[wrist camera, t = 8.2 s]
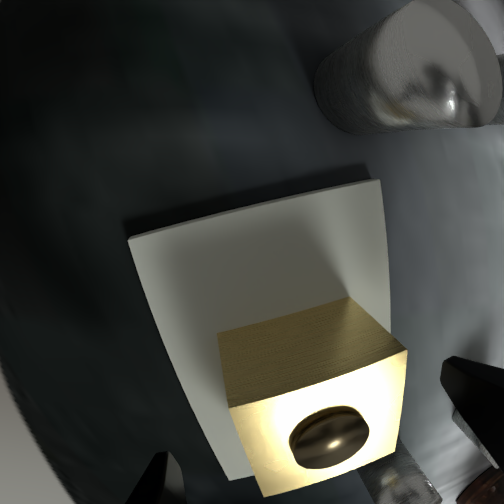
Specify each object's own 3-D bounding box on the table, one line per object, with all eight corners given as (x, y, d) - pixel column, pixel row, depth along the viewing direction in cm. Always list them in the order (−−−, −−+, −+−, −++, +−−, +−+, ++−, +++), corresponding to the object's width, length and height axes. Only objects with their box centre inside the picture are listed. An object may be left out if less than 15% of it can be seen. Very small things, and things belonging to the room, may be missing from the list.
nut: (349, 296, 11) (413, 355, 7) (354, 392, 12) (398, 457, 8) (216, 333, 10) (229, 417, 6) (246, 425, 12) (265, 503, 8)
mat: (372, 178, 10) (379, 179, 10) (381, 423, 14) (385, 430, 13) (131, 236, 9) (127, 240, 9) (228, 472, 13) (229, 480, 12)
